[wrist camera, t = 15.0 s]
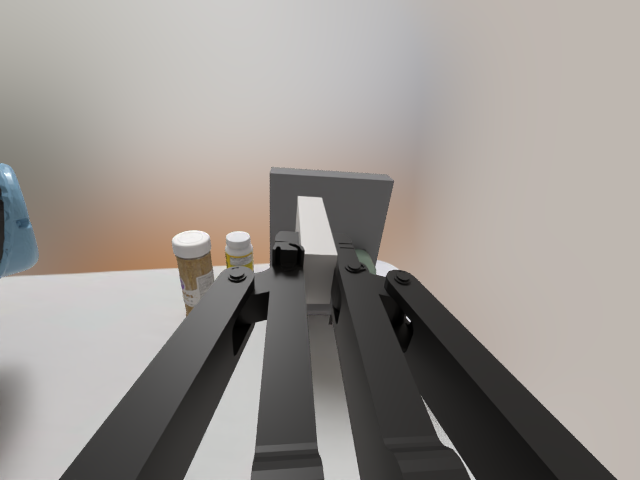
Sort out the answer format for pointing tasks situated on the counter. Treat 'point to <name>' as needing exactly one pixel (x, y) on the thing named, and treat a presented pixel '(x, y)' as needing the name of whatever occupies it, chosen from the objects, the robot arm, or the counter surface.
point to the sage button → (366, 260)
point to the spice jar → (193, 265)
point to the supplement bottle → (239, 250)
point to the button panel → (332, 207)
